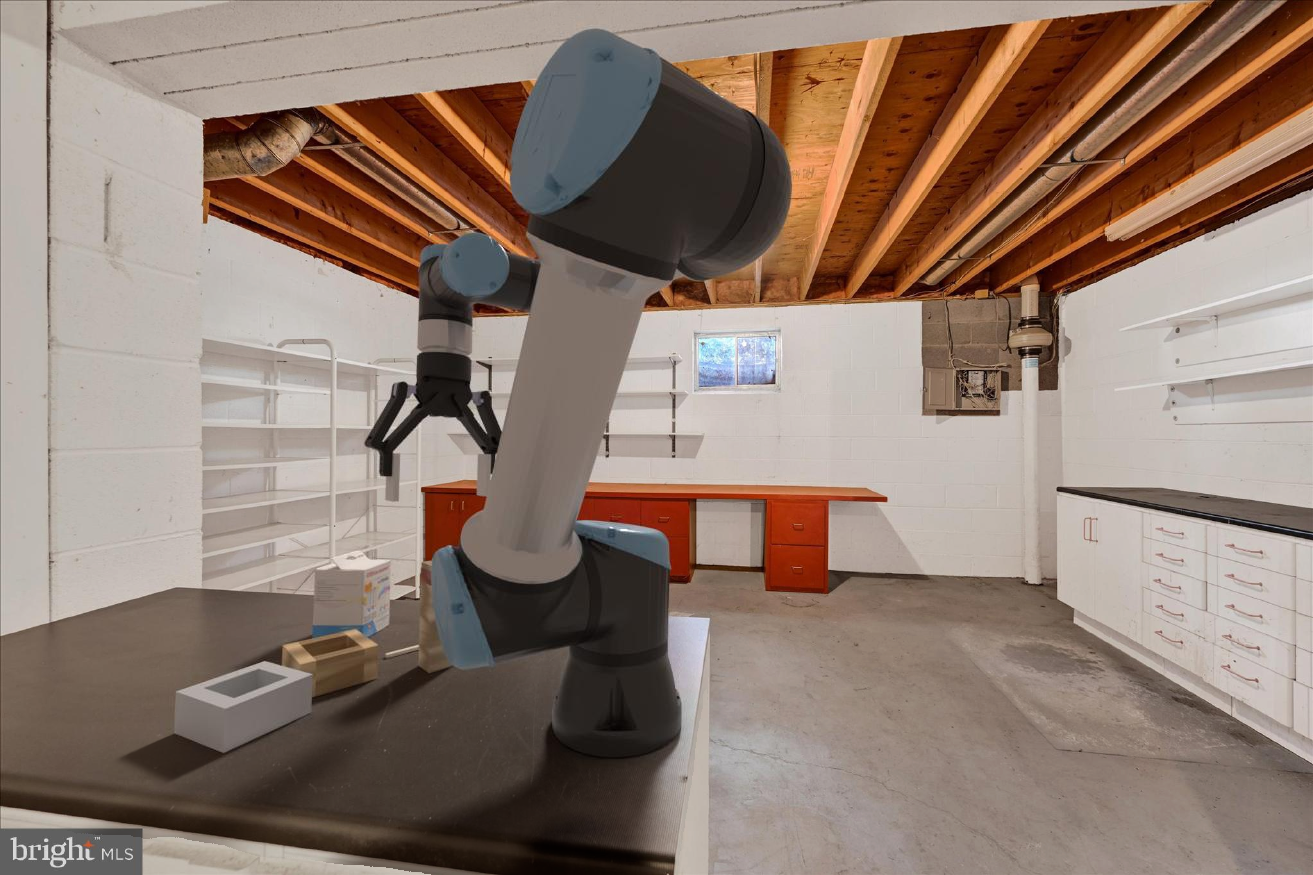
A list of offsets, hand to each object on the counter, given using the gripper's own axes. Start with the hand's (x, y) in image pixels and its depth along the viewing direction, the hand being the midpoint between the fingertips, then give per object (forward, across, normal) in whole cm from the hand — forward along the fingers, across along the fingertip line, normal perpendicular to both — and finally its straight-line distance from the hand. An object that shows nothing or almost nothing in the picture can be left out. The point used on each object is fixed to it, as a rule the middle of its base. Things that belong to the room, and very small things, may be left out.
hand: (440, 498), depth 76 cm
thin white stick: (+24, -1, -8) cm, 26 cm away
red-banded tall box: (+24, 0, 0) cm, 24 cm away
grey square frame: (+24, +22, 0) cm, 33 cm away
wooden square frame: (+24, +12, -6) cm, 28 cm away
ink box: (+25, +4, -23) cm, 34 cm away
